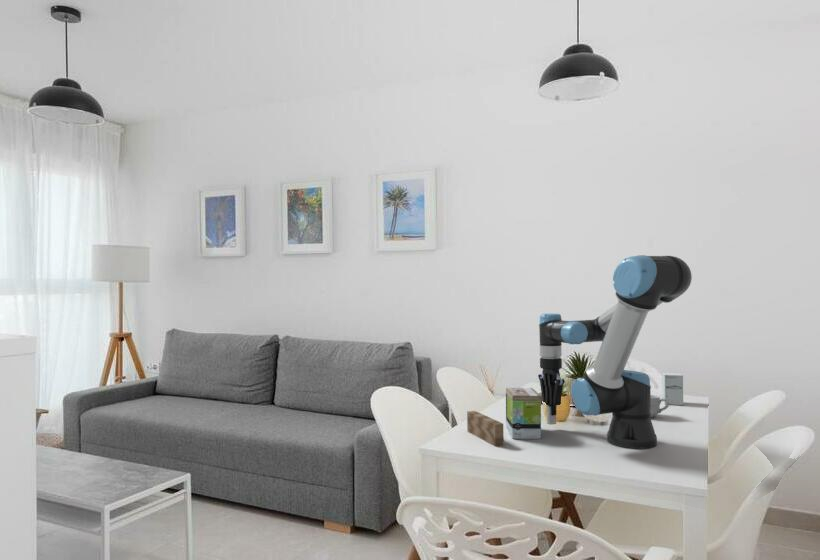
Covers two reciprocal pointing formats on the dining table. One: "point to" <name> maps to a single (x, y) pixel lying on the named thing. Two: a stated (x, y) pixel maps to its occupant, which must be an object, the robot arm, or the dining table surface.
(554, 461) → the dining table surface
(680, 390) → the supplement box
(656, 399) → the teacup
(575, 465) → the dining table surface
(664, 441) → the dining table surface
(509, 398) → the tea box
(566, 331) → the robot arm
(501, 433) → the walnut board
